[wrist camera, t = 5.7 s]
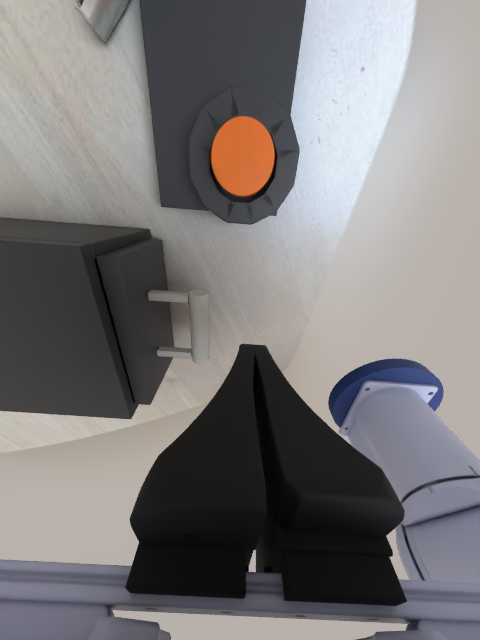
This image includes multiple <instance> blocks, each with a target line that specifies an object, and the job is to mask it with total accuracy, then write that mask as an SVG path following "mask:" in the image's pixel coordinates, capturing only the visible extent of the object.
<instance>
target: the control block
mask: <svg viewBox="0 0 480 640" xmlns="http://www.w3.org/2000/svg"><path fill="white" fill-rule="evenodd" d="M305 6H306V0H140V8H141V18H142V27H143V37H144V46H145V56H146V66H147V75H148V85H149V94H150V104H151V114H152V123H153V133H154V142H155V152H156V161H157V171H158V181H159V190H160V200H161V207H171V208H184V209H196V210H209V211H211V212H213V213H214V214H216V215H217V216H218V217H220V218H221V219H222V220H224V221H225V222H227V223H239V224H254V223H256V222H258V221H260V220H262V219H264V218H265V217H267V216H269V215H272V216H276V214H277V210H278V208H279V207H280V205H281V204H282V203H283V201H284V200H285V198H286V197H287V195H288V194H289V192H290V191H291V189H292V188H293V185H294V182H295V176H296V170H297V164H298V158H299V145H298V142H297V138H296V134H295V131H294V127H293V123H292V120H291V116H290V114H291V107H292V99H293V92H294V85H295V78H296V71H297V64H298V56H299V49H300V42H301V35H302V28H303V21H304V13H305ZM238 116H248V117H252V118H254V119H256V120H258V121H259V122H260V123H262V124H263V125H264V126H265V128H266V129H267V131H268V132H269V134H270V136H271V139H272V141H273V145H274V154H275V158H274V166H273V170H272V173H271V175H270V177H269V179H268V181H267V182H266V184H265V185H264V186H263V187H262V188H261V189H260V190H259V191H258V192H257V193H255V194H254V195H251V196H248V197H237V196H234V195H232V194H230V193H229V192H228V191H226V190H225V189H224V188H223V187H222V186H221V185H220V184H219V182H218V181H217V179H216V177H215V175H214V172H213V168H212V163H211V150H212V144H213V141H214V138H215V136H216V134H217V132H218V131H219V129H220V128H221V127H222V126H223V124H224V123H226V122H227V121H228V120H230V119H232V118H234V117H238Z"/></svg>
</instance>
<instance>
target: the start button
mask: <svg viewBox="0 0 480 640" xmlns="http://www.w3.org/2000/svg"><path fill="white" fill-rule="evenodd" d="M274 158H275V154H274V145H273V141H272V139H271V136H270V134H269V132H268V131H267V129H266V128H265V126H264V125H263V124H262V123H260V122H259V121H258V120H256V119H254V118H252V117H248V116H238V117H234V118H232V119H230V120H228V121H227V122H226V123H224V124H223V126H222V127H221V128H220V129H219V131H218V132H217V134H216V136H215V138H214V141H213V144H212V150H211V163H212V168H213V172H214V175H215V177H216V179H217V181H218V182H219V184H220V185H221V186H222V187H223V188H224V189H225V190H226V191H228V192H229V193H230V194H232V195H234V196H237V197H248V196H251V195H254V194H255V193H257V192H258V191H259V190H260V189H261V188H262V187H263V186H264V185H265V184H266V182H267V181H268V179H269V177H270V175H271V173H272V170H273V166H274Z"/></svg>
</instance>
